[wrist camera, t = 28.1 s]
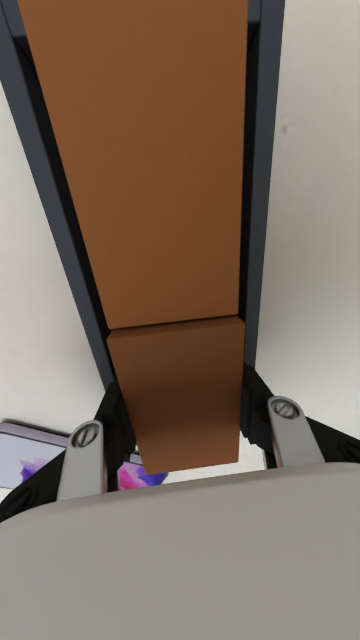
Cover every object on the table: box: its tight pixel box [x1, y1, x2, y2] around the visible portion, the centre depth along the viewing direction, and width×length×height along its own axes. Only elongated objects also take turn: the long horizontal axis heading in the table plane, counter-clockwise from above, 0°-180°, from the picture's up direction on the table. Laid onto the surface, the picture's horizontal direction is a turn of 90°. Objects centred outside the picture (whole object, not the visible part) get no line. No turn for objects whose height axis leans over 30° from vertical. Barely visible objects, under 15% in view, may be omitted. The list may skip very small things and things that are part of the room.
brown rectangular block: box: [17, 0, 248, 329], centre depth 7 cm, size 6×9×4 cm, turn 6°
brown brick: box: [106, 315, 245, 475], centre depth 10 cm, size 6×9×4 cm, turn 6°
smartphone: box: [0, 423, 169, 490], centre depth 16 cm, size 7×1×15 cm
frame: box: [0, 0, 285, 445], centre depth 10 cm, size 10×21×2 cm, turn 6°
